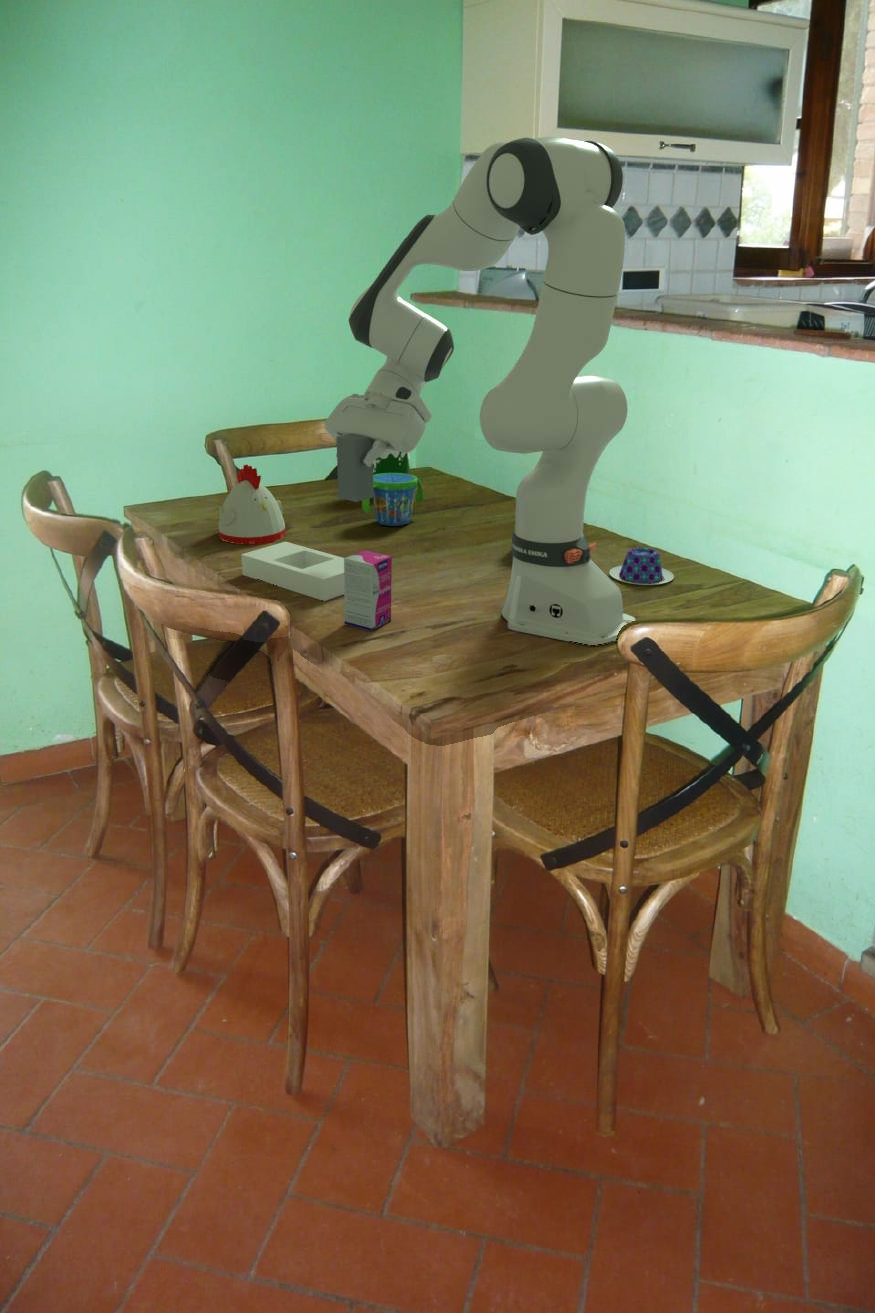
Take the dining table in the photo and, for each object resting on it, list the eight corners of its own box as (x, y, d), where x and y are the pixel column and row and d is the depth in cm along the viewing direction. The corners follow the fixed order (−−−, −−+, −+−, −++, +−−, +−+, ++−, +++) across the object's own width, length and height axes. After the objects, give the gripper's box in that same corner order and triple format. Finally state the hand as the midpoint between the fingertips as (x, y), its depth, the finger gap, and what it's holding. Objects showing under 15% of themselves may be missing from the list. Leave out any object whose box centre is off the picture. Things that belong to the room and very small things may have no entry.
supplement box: (373, 632, 160) (371, 564, 156) (343, 624, 163) (341, 558, 158) (393, 621, 165) (392, 554, 160) (364, 614, 168) (362, 549, 163)
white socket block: (368, 585, 181) (367, 564, 179) (324, 601, 173) (323, 579, 172) (286, 561, 194) (285, 541, 192) (242, 574, 186) (241, 554, 185)
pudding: (659, 592, 179) (662, 565, 177) (598, 580, 185) (600, 553, 183) (683, 575, 189) (685, 548, 186) (624, 564, 195) (626, 538, 192)
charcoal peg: (373, 497, 180) (372, 436, 175) (356, 502, 177) (354, 440, 172) (355, 493, 183) (354, 432, 178) (338, 497, 179) (336, 436, 175)
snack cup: (411, 512, 228) (410, 468, 224) (436, 523, 220) (436, 477, 216) (351, 522, 220) (350, 477, 216) (375, 533, 212) (374, 486, 208)
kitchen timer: (240, 549, 201) (235, 476, 196) (207, 534, 211) (200, 464, 205) (298, 536, 210) (294, 466, 204) (263, 523, 219) (258, 455, 213)
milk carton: (412, 489, 249) (412, 408, 241) (405, 497, 241) (404, 414, 233) (378, 487, 250) (376, 406, 242) (370, 496, 242) (368, 412, 234)
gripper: (339, 381, 183) (302, 442, 180) (423, 394, 171) (384, 459, 168) (357, 403, 188) (321, 463, 185) (439, 417, 176) (402, 481, 173)
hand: (352, 461), depth 177 cm, fingers closed on charcoal peg, 4 cm apart
